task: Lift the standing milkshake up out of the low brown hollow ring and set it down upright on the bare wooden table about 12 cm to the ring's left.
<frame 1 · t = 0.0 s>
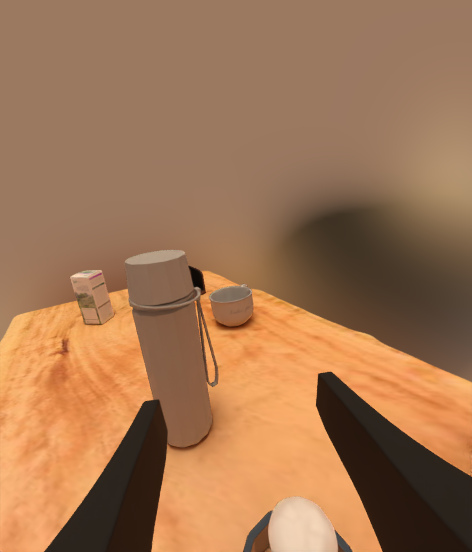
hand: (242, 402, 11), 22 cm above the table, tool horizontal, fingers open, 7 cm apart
letter holder: (179, 291, 88), on the table
water bottle: (194, 424, 35), on the table
teacup: (237, 318, 64), on the table
syrup box: (100, 320, 71), on the table
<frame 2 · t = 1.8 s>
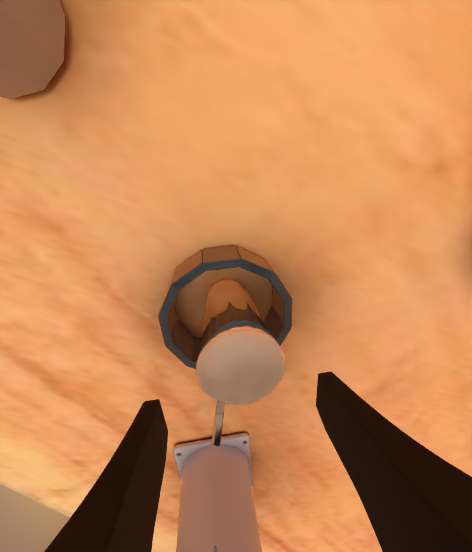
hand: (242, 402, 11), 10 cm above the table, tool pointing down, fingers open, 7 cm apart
brown hollow ring: (224, 300, 20), on the table
water bottle: (14, 10, 12), on the table
milkshake: (224, 299, 20), resting in brown hollow ring
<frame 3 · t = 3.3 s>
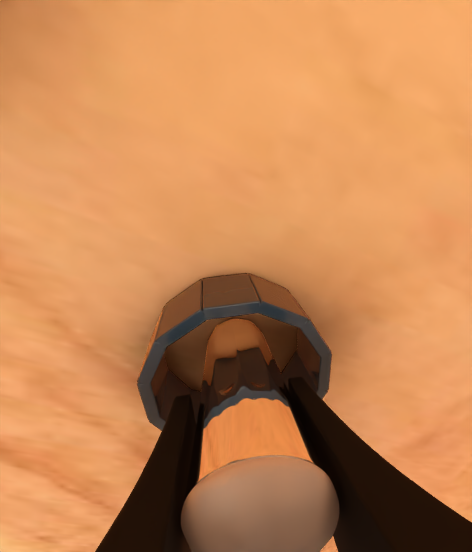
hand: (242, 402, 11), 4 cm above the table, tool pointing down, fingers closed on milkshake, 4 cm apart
brown hollow ring: (232, 345, 15), on the table
milkshake: (232, 343, 15), resting in brown hollow ring, touching gripper
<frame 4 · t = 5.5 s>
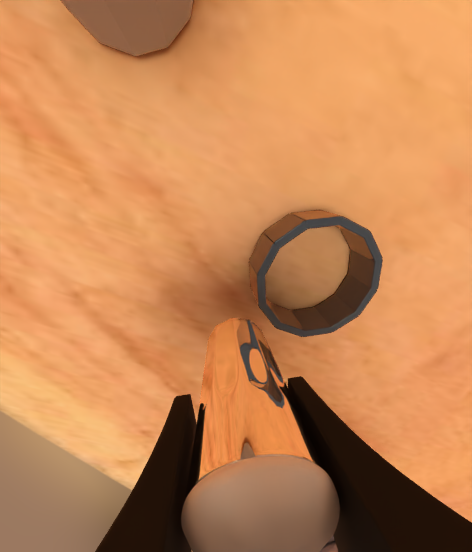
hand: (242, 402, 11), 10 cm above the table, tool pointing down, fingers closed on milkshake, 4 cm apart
brown hollow ring: (303, 267, 20), on the table
milkshake: (232, 343, 15), point 6 cm above the table, touching gripper
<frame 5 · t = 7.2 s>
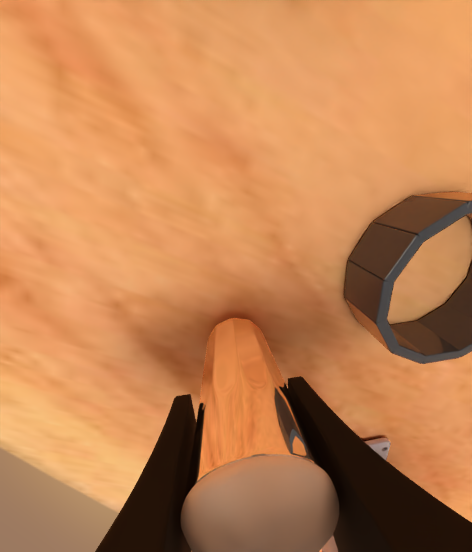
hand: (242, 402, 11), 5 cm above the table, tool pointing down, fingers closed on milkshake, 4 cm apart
brown hollow ring: (414, 269, 15), on the table
milkshake: (232, 343, 15), point 1 cm above the table, touching gripper
when the fingers open (4 cm above the table, at t = 8.0 s): milkshake stays where it is, on the table.
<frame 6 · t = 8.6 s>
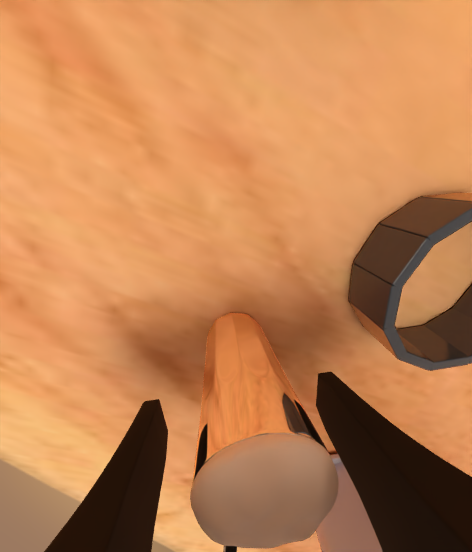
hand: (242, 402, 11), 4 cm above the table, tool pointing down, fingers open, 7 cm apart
brown hollow ring: (421, 272, 15), on the table
milkshake: (230, 337, 15), on the table
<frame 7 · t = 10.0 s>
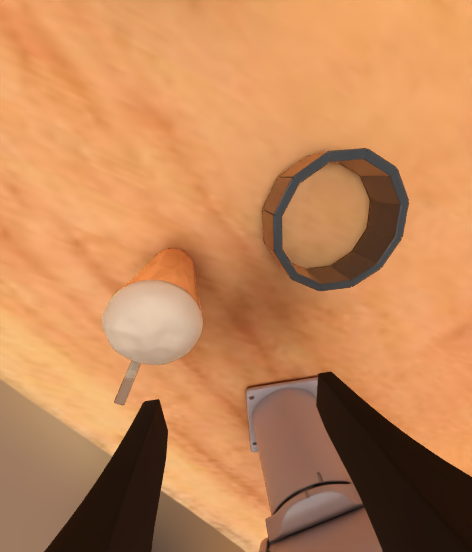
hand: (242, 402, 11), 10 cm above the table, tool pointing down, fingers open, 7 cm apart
brown hollow ring: (320, 219, 19), on the table
milkshake: (171, 271, 19), on the table
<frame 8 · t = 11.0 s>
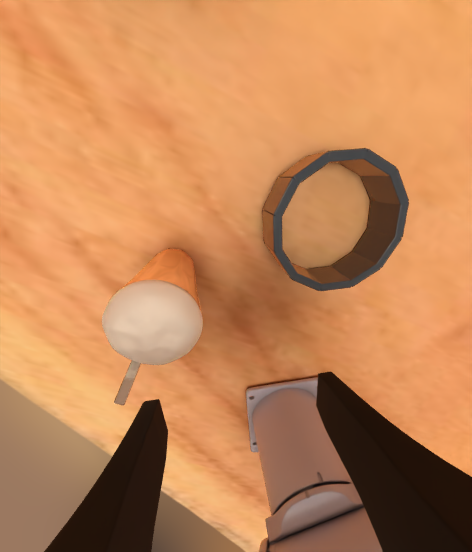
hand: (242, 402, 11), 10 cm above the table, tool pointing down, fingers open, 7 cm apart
brown hollow ring: (320, 219, 19), on the table
milkshake: (171, 271, 19), on the table
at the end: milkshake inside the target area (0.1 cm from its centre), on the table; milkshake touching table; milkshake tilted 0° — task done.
